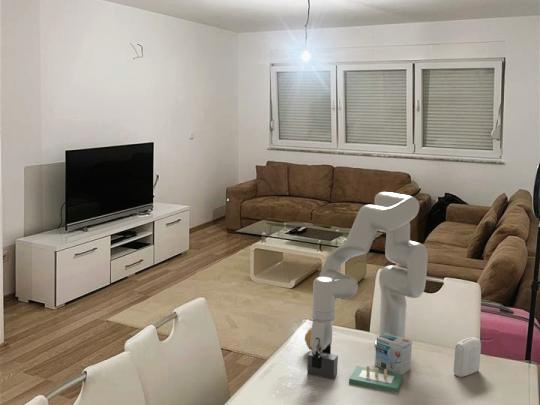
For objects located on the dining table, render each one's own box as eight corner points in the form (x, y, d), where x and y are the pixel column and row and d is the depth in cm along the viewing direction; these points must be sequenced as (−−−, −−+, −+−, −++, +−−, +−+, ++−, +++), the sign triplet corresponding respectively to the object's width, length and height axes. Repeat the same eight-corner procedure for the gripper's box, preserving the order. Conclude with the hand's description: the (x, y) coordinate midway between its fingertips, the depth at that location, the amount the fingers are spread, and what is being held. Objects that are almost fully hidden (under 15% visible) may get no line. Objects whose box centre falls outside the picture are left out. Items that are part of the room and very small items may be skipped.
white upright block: (470, 366, 201) (473, 333, 199) (481, 371, 198) (483, 337, 195) (451, 373, 196) (453, 339, 193) (461, 378, 192) (464, 344, 190)
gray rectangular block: (311, 369, 198) (311, 350, 197) (337, 374, 194) (337, 355, 193) (307, 374, 195) (307, 354, 193) (333, 379, 191) (334, 360, 190)
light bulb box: (374, 366, 201) (375, 337, 199) (384, 359, 206) (385, 331, 204) (401, 376, 194) (402, 346, 192) (411, 369, 199) (412, 340, 197)
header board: (356, 369, 198) (357, 357, 197) (403, 379, 191) (403, 366, 191) (348, 382, 189) (349, 369, 188) (397, 392, 182) (398, 379, 182)
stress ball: (318, 347, 218) (299, 332, 216) (336, 330, 215) (316, 315, 213) (320, 363, 208) (300, 347, 206) (338, 345, 206) (318, 330, 204)
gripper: (320, 304, 200) (319, 350, 203) (303, 320, 184) (301, 369, 187) (341, 307, 197) (339, 354, 200) (325, 324, 181) (323, 374, 184)
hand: (321, 361), depth 193 cm, fingers open, 9 cm apart
